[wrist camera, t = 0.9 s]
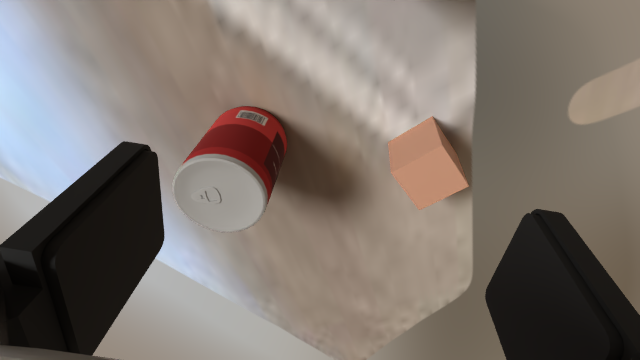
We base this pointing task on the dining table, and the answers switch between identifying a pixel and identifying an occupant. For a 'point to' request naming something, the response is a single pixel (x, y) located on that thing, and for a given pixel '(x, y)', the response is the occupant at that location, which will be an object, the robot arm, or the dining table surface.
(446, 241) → the dining table surface
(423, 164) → the block
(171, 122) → the dining table surface
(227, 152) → the canned food
